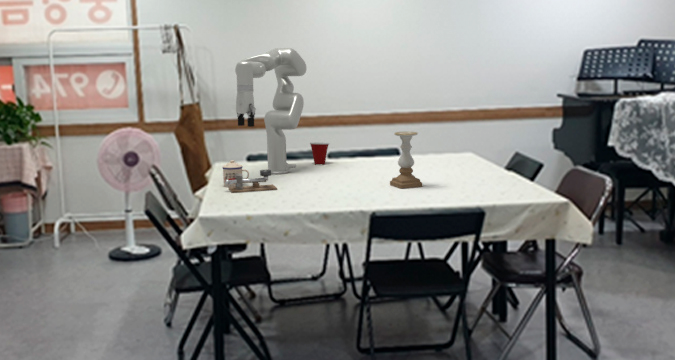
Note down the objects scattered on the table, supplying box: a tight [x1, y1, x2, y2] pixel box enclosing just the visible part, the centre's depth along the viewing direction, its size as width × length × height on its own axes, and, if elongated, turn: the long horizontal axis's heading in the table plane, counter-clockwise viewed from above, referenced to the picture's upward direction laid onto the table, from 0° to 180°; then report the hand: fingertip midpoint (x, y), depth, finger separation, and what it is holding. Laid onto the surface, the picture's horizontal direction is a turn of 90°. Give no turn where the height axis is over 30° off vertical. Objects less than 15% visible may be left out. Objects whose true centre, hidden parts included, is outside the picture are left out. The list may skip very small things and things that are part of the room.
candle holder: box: [389, 131, 423, 190], centre depth 300 cm, size 11×11×24 cm
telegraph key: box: [228, 174, 278, 194], centre depth 299 cm, size 20×10×7 cm, turn 107°
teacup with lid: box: [222, 159, 250, 188], centre depth 310 cm, size 12×9×12 cm
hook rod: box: [225, 169, 272, 185], centre depth 299 cm, size 21×5×5 cm, turn 107°
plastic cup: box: [309, 142, 330, 165], centre depth 372 cm, size 11×11×12 cm
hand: (246, 126), depth 314 cm, fingers open, 9 cm apart
